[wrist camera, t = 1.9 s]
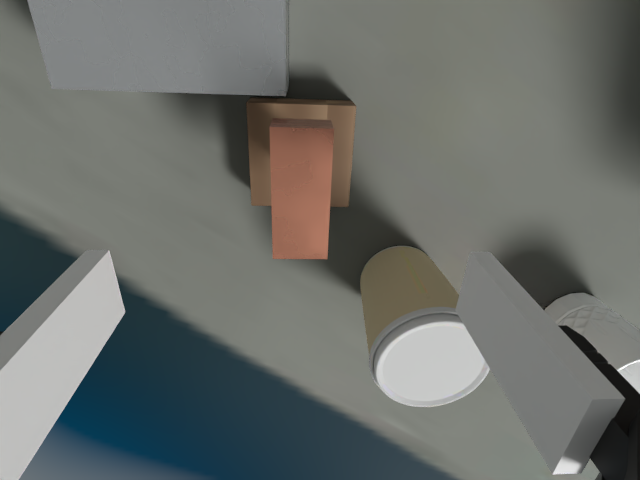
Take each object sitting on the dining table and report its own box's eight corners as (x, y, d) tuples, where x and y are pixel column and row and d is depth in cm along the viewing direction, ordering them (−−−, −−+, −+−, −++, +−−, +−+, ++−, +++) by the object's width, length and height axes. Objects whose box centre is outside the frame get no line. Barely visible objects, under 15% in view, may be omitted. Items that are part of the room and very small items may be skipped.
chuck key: (322, 99, 30) (333, 128, 20) (319, 193, 34) (327, 259, 24) (280, 98, 30) (269, 126, 20) (281, 193, 34) (272, 258, 23)
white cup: (576, 275, 39) (656, 342, 31) (619, 308, 42) (704, 380, 33) (518, 324, 42) (576, 398, 33) (561, 353, 45) (626, 430, 36)
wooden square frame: (351, 100, 30) (356, 106, 28) (344, 194, 34) (348, 206, 31) (251, 97, 30) (246, 102, 27) (255, 192, 34) (251, 205, 31)
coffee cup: (412, 324, 41) (450, 421, 31) (336, 297, 39) (349, 392, 29) (460, 257, 38) (523, 341, 27) (379, 223, 36) (413, 300, 25)
